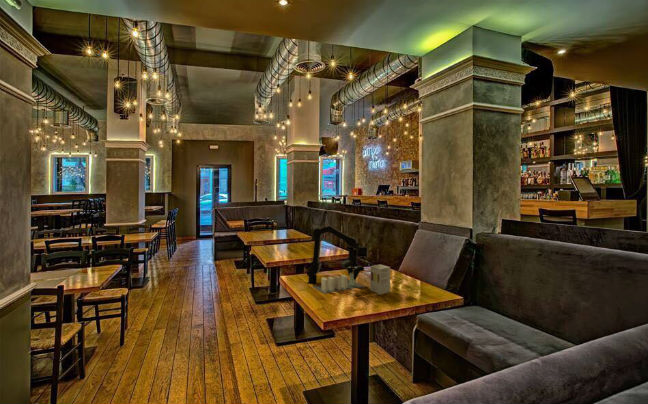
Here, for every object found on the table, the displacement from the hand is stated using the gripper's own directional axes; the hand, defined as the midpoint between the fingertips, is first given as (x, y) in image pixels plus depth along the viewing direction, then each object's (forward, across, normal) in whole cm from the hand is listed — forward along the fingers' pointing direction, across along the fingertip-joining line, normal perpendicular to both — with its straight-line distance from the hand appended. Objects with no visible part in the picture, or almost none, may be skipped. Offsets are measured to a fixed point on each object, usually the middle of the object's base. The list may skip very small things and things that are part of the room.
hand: (352, 278), depth 236 cm
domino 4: (+5, 0, -7) cm, 9 cm away
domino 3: (+5, 0, -12) cm, 13 cm away
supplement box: (+6, +17, +10) cm, 21 cm away
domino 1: (+5, 0, -22) cm, 23 cm away
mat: (+6, -4, -9) cm, 11 cm away
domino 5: (+4, 0, 0) cm, 4 cm away
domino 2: (+5, 0, -17) cm, 18 cm away
